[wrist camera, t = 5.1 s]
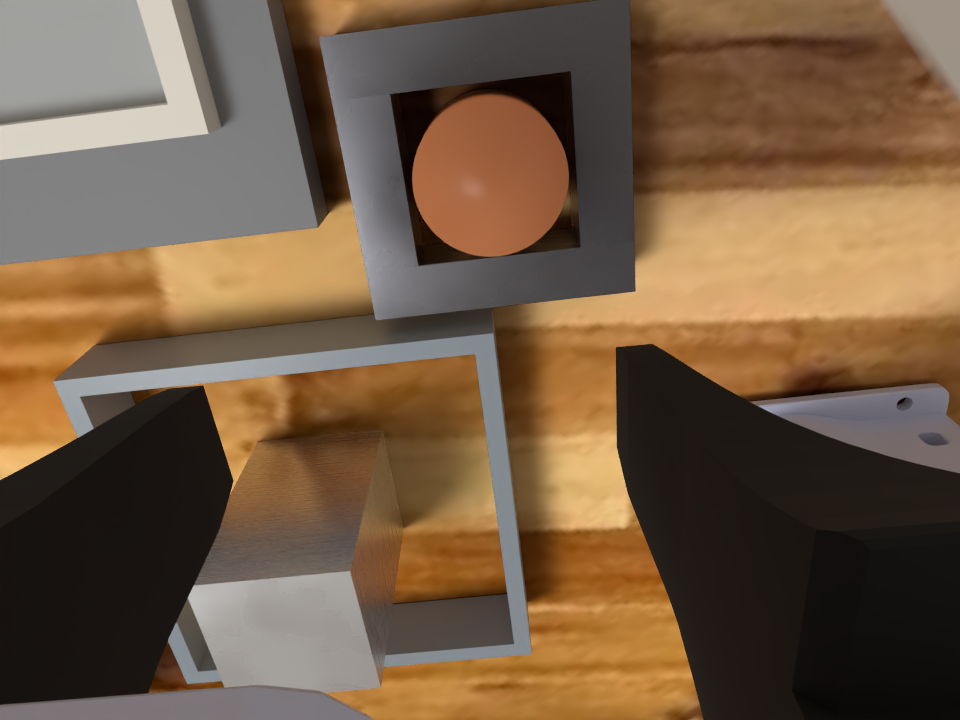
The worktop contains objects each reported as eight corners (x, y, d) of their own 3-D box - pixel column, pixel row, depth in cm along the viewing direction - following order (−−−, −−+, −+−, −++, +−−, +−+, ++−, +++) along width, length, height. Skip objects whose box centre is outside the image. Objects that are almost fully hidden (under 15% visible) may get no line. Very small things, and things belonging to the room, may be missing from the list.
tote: (491, 301, 22) (493, 332, 20) (527, 603, 28) (531, 654, 26) (94, 345, 23) (52, 381, 21) (209, 631, 29) (187, 684, 27)
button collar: (614, -3, 18) (629, -5, 17) (622, 268, 22) (635, 291, 20) (333, 34, 19) (318, 37, 17) (383, 295, 22) (375, 320, 20)
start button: (553, 80, 19) (563, 88, 17) (563, 223, 21) (573, 247, 19) (408, 98, 19) (400, 109, 17) (430, 239, 21) (425, 264, 19)
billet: (382, 428, 25) (350, 571, 18) (403, 528, 26) (381, 687, 20) (257, 441, 25) (183, 586, 18) (287, 539, 27) (230, 700, 20)
